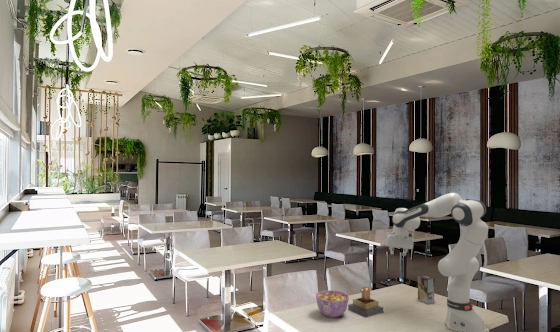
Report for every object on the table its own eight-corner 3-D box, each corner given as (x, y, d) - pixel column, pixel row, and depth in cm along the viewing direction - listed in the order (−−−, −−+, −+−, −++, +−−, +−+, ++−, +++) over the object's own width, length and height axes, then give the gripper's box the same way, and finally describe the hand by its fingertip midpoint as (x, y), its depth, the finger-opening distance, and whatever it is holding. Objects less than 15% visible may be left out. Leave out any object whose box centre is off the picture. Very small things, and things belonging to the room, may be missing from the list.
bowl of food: (322, 322, 218) (322, 302, 219) (310, 310, 238) (310, 291, 238) (354, 319, 224) (354, 299, 224) (340, 307, 243) (340, 289, 243)
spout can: (371, 306, 237) (372, 288, 237) (363, 308, 233) (364, 290, 233) (365, 303, 241) (365, 286, 241) (357, 306, 237) (357, 288, 237)
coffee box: (435, 302, 253) (435, 278, 253) (427, 304, 250) (427, 279, 251) (424, 298, 261) (424, 274, 262) (417, 299, 259) (417, 276, 259)
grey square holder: (383, 312, 236) (383, 301, 236) (365, 317, 227) (365, 306, 227) (365, 304, 248) (365, 294, 248) (348, 309, 240) (348, 298, 240)
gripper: (389, 231, 241) (387, 253, 239) (415, 235, 248) (414, 257, 246) (383, 231, 247) (381, 252, 245) (409, 234, 254) (407, 255, 252)
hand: (398, 255), depth 245 cm, fingers open, 8 cm apart
